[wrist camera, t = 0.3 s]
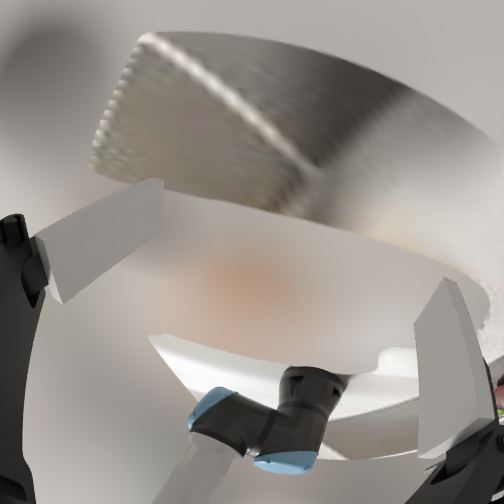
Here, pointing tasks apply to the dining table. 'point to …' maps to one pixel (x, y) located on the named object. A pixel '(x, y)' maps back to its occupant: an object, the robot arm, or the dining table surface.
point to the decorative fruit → (500, 399)
